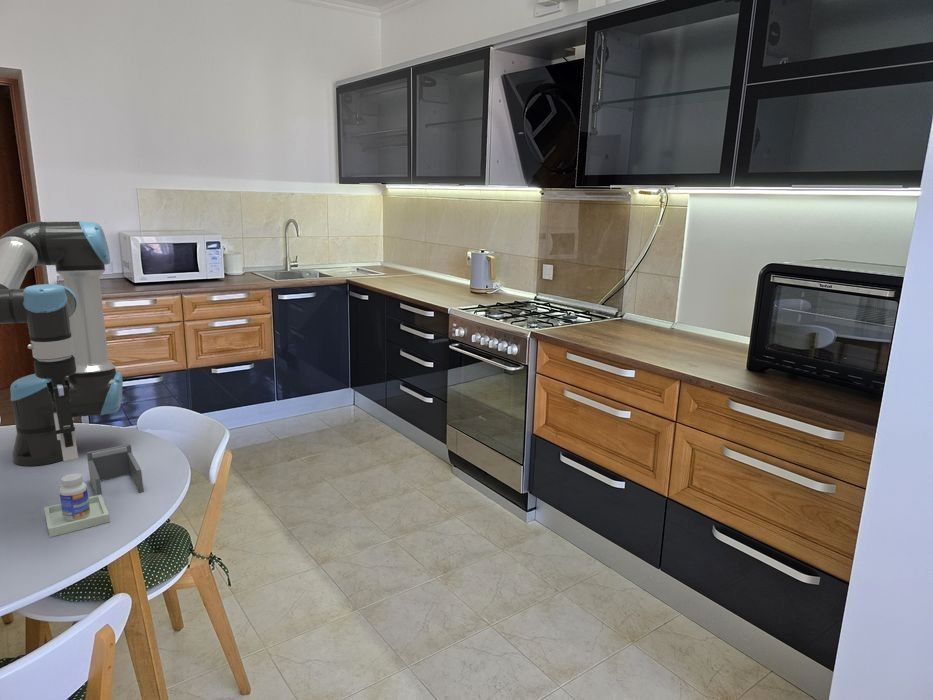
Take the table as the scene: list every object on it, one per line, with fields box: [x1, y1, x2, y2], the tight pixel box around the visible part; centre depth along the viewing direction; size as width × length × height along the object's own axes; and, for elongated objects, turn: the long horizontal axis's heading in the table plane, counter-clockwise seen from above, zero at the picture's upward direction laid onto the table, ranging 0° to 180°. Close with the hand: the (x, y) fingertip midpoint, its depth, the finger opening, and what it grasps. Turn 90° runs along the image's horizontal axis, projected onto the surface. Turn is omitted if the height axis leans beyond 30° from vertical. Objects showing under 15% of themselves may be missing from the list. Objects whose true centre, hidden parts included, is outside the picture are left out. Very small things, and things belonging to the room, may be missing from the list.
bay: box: [86, 443, 145, 499], centre depth 161 cm, size 14×10×8 cm
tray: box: [43, 494, 111, 538], centre depth 146 cm, size 12×12×2 cm
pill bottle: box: [58, 473, 90, 521], centre depth 145 cm, size 5×5×10 cm
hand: (67, 448), depth 142 cm, fingers open, 13 cm apart
